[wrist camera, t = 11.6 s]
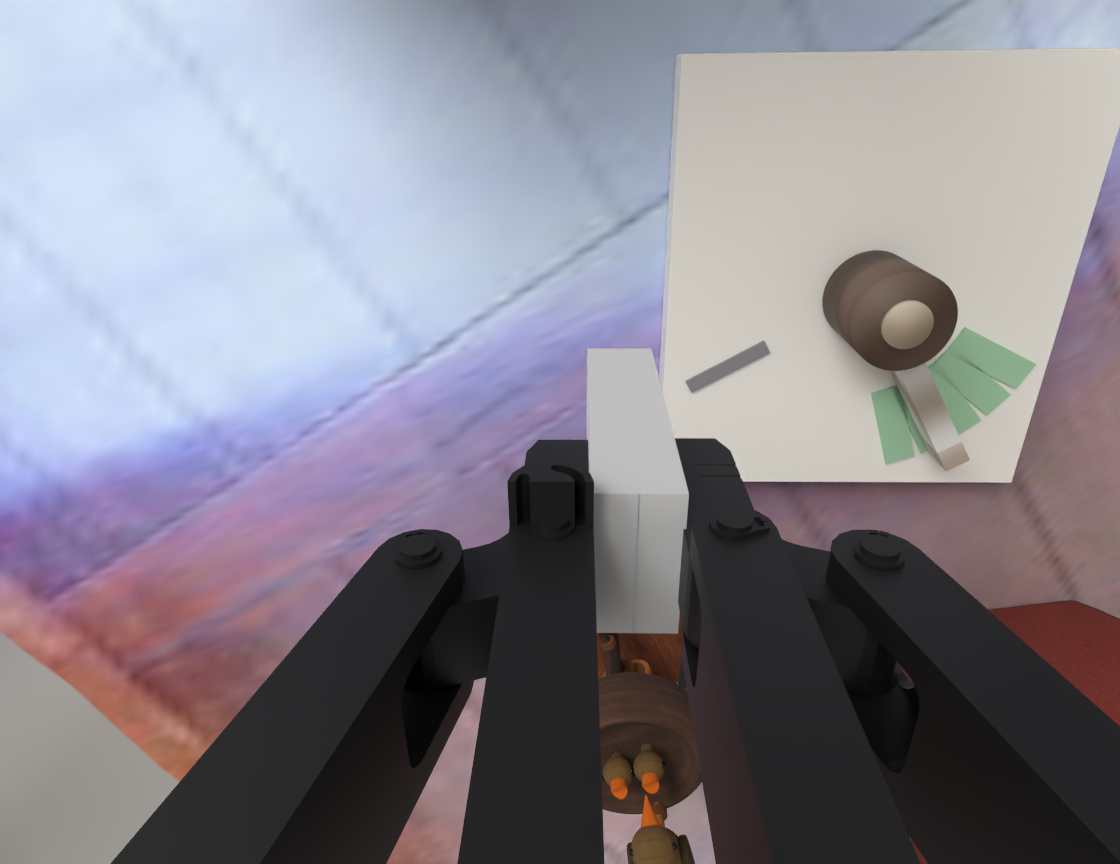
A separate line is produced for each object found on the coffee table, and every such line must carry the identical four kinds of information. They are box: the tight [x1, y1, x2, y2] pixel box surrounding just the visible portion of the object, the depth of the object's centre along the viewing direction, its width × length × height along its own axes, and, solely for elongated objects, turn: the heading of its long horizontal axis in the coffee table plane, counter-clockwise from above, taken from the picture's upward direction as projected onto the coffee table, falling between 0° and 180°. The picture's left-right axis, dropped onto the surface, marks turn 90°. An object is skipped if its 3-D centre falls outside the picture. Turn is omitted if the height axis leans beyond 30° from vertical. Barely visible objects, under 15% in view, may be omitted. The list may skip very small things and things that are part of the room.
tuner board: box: [659, 48, 1120, 483], centre depth 41 cm, size 24×22×3 cm
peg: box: [822, 250, 970, 471], centre depth 39 cm, size 14×5×5 cm, turn 33°
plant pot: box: [901, 601, 1120, 864], centre depth 48 cm, size 19×19×17 cm
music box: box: [597, 616, 702, 864], centre depth 45 cm, size 15×11×20 cm
